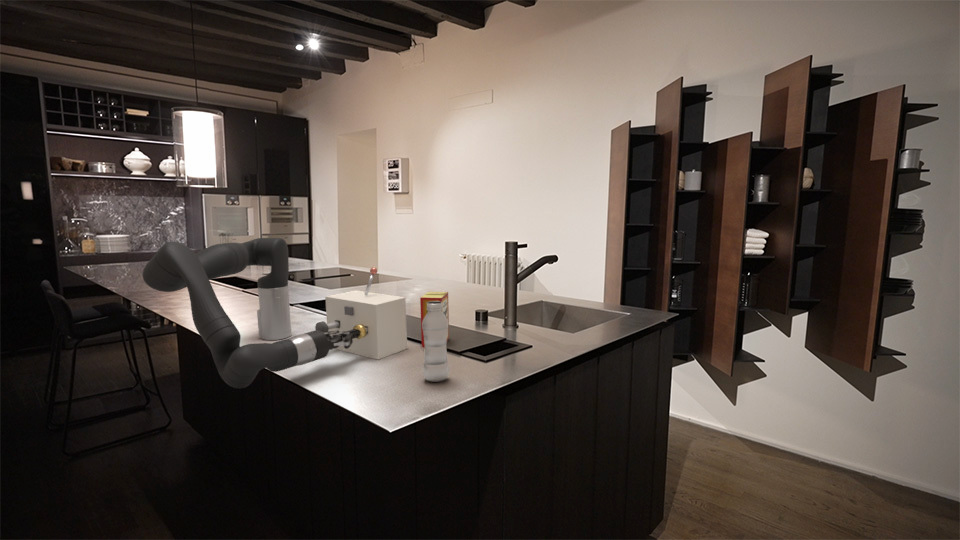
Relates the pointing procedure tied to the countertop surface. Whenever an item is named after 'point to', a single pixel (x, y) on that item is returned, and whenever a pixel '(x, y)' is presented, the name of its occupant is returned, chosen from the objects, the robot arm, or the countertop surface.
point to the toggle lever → (370, 279)
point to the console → (370, 321)
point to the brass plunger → (361, 330)
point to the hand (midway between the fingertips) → (357, 332)
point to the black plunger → (326, 326)
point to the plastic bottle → (435, 343)
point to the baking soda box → (434, 297)
